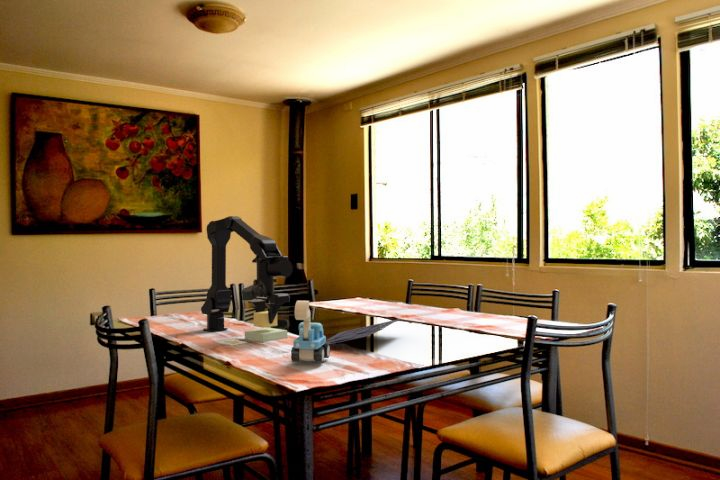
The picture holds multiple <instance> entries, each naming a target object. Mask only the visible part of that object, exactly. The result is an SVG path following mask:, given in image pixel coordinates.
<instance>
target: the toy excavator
mask: <svg viewBox="0 0 720 480" xmlns="http://www.w3.org/2000/svg"><path fill="white" fill-rule="evenodd" d="M311 315H312V314H311V310H310V300H296V302H295V305H294V318H295V320H296V321H302V322H300V323H299V324H298V332H299V334H298V337H296V338H295V339H293V341H292V342H293V343H292V345H293V346H292V347H291V350H290V352H291V353H290V360H291V362H292V363H299V362H300V360H301V361H314V363H321V364H322V363H324V361H325V359H329V358H330V353H331V349H330V348H331V346H330V345H331V344H330V345H329V344H327V343H326V340H327V337H326V335H324V328H323V327H324V326H323V324H322V323H320V322H311V318H312V317H311Z"/></svg>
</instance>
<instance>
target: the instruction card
mask: <svg viewBox="0 0 720 480" xmlns="http://www.w3.org/2000/svg"><path fill="white" fill-rule="evenodd" d="M217 344H221V345H225V346H231V347H232V346H238V345H244V344H248V342H247V341H243V340H237V339H228V340H222V341H217Z"/></svg>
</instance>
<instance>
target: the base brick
mask: <svg viewBox="0 0 720 480" xmlns="http://www.w3.org/2000/svg"><path fill="white" fill-rule="evenodd" d="M248 339H249V340H250V341H255V342H258V343H259V342H260V343H266V342H268V343H269V342H272V341H278V340H283V339H288V330H287V329H275V328H271V327H265V328H257V329H251V330H244V340H248Z"/></svg>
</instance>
